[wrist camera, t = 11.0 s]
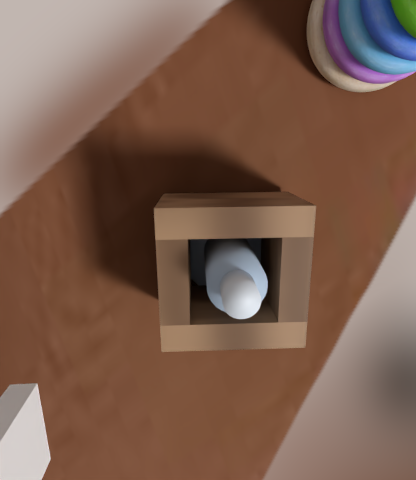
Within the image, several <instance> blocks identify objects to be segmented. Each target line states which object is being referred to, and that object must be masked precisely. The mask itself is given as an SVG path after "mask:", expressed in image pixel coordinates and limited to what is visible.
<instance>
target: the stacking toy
mask: <svg viewBox="0 0 416 480" xmlns="http://www.w3.org/2000/svg"><path fill="white" fill-rule="evenodd" d="M307 43H308V48H309V52H310V55H311V58H312V60H313V62H314V64H315V66H316V68H317V69H318V71H319V72H320V73H321V75H322V76H323V77H324V78H325V79H327V80H328V81H329V82H330V83H332V84H333V85H335V86H337V87H339V88H341V89H344V90H347V91H352V92H370V91H375V90H379V89H382V88H385V87H387V86H389V85H391V84H393V83H395V82H396V81H398V80H401V79H403V78H405V77H407V76H409V75H411V74H413V73H414V72H416V0H313V1H312V3H311V7H310V10H309V14H308V21H307Z"/></svg>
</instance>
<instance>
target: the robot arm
mask: <svg viewBox="0 0 416 480" xmlns="http://www.w3.org/2000/svg"><path fill="white" fill-rule="evenodd" d="M50 459H51V458H50V452H49V447H48V441H47V436H46V430H45V424H44V419H43V413H42V407H41V402H40V396H39V390H38V385H37V383H36V384H15V385H9V387H8V388H7V389H6V391H5V392H4V393H3V395H2V396H1V397H0V480H42V477H43V475H44V473H45V471H46V468H47V466H48V464H49V462H50Z"/></svg>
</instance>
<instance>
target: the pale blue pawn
mask: <svg viewBox="0 0 416 480" xmlns="http://www.w3.org/2000/svg"><path fill="white" fill-rule="evenodd" d="M261 240H262V238H231V239H190V263H191V279H192V280H193V281H194V282H195V283H196V284H198V285H199V286H200V285H207V293H208V296H209V298H210V300H211V302H212V303H213V304H214V305H215V306H216V307H217V308H218V309H220V310H222V311H224V312H226V313H227V314H228V315H229V316H231V317H233V318H236V319H246V318H249V317H251V316H253V315H254V314H256V312H257V311H258V310H259V308H260V306H261V302H262V300H263V299H264V297H265V295H266V292H267V288H268V281H267V277H266V274H265V272H264V270H263V268H262V266H261Z"/></svg>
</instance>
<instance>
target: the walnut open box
mask: <svg viewBox="0 0 416 480" xmlns="http://www.w3.org/2000/svg"><path fill="white" fill-rule="evenodd" d="M315 213H316V205H314V204H312V203H310V202H308V201H306V200H304V199H302V198H299V197H297V196H295V195H293V194H291V193H289V192H234V193H168V194H163V195H162V197H161V198H160V200H159V201H158V203H157V204H156V206H155V207H154V222H155V240H156V259H157V277H158V296H159V314H160V333H161V351H162V352H173V351H206V350H239V349H272V348H305V344H306V331H307V318H308V305H309V292H310V279H311V266H312V253H313V240H314V226H315ZM231 238H262V240H261V266H262V268H263V270H264V272H265V274H266V277H267V281H268V288H267V292H266V295H265V297H264V299H263V300H262V302H261V306H260V308H259V310H258V311H257V312H256V314H254V315H253V316H251V317H249V318H246V319H236V318H233V317H231V316H229V315H228V314H227V313H226V312H224V311H222V310H220V309H218V308H217V307H216V306H215V305H214V304H213V303H212V302H211V300H210V298H209V296H208V293H207V285H200V286H191V263H190V239H231Z"/></svg>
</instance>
